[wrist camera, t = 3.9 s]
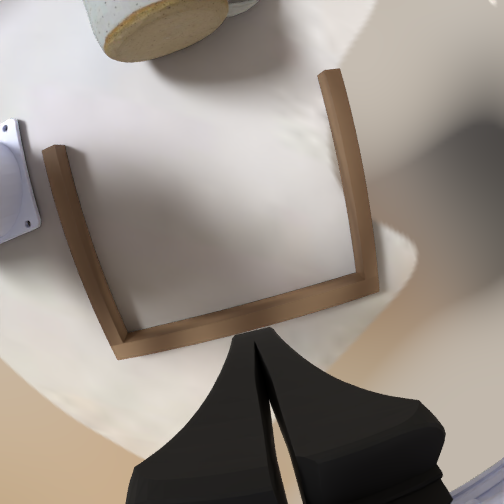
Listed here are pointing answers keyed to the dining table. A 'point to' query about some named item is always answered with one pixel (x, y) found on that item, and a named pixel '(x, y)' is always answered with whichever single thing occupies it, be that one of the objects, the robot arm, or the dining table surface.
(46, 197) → the dining table surface
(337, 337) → the dining table surface
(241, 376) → the robot arm
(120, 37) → the ceramic mug
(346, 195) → the walnut bay
